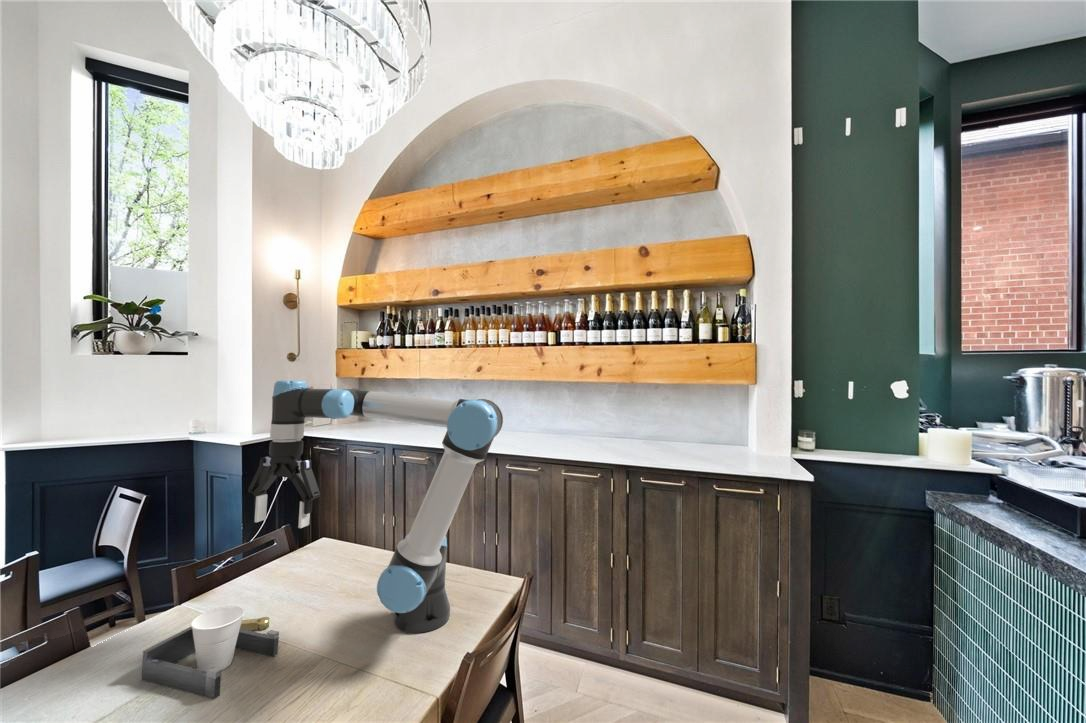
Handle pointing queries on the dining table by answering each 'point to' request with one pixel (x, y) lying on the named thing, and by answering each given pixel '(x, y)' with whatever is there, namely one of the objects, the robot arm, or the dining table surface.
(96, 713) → the dining table surface
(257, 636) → the grey u-shaped bracket
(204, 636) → the cup
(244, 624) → the brass key block
